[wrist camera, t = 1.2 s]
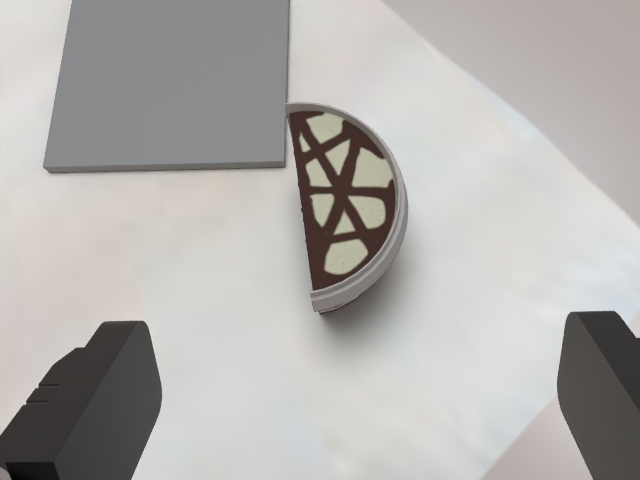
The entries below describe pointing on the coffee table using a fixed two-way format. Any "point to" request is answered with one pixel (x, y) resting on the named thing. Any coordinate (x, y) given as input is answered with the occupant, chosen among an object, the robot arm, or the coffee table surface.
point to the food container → (345, 202)
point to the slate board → (171, 86)
